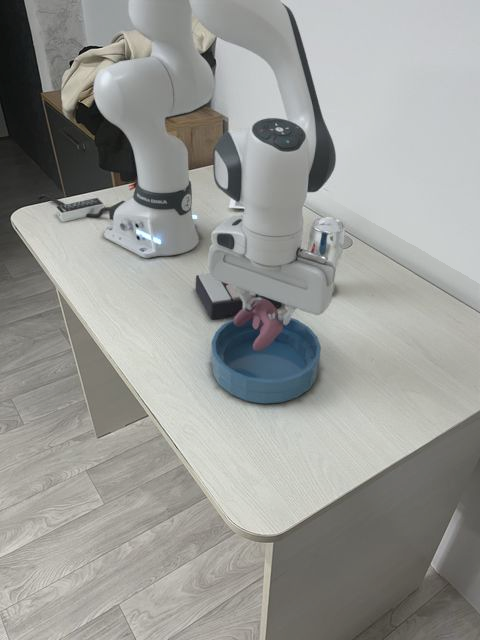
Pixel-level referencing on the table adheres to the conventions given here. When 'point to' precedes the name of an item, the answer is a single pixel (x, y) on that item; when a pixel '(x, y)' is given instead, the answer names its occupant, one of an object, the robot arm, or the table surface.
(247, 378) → the blue bowl
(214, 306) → the red and gray box
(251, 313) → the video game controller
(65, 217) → the multiport hub
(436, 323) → the table surface
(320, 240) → the beer glass
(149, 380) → the table surface
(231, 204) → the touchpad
